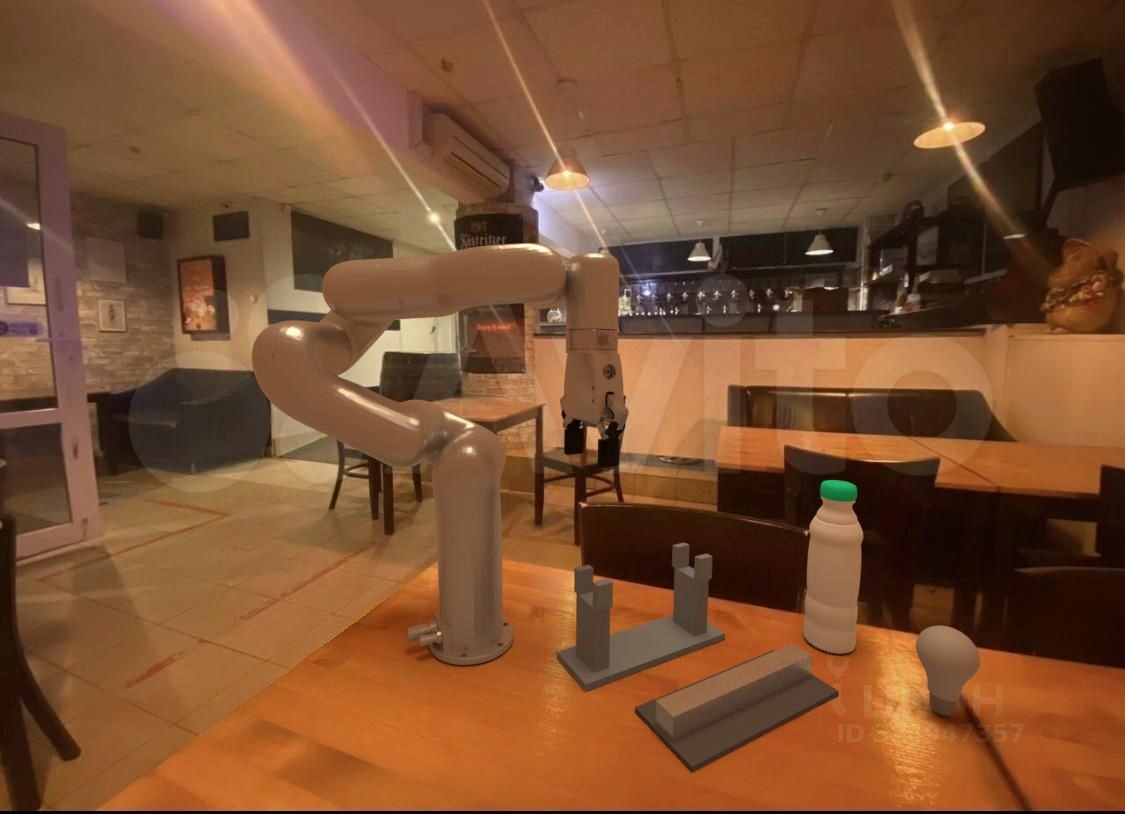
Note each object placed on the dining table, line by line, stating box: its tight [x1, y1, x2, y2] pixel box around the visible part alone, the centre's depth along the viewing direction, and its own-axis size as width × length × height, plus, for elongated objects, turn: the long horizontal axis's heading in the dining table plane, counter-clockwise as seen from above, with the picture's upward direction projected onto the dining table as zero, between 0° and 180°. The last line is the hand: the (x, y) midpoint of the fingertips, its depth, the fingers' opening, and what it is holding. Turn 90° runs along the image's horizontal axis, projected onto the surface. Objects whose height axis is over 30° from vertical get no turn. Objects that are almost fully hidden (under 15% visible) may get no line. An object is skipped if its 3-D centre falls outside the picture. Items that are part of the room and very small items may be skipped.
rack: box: [556, 542, 726, 692], centre depth 73 cm, size 25×8×14 cm, turn 118°
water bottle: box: [802, 479, 864, 655], centre depth 74 cm, size 7×7×25 cm
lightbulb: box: [915, 625, 981, 717], centre depth 60 cm, size 6×6×11 cm
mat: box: [634, 649, 840, 773], centre depth 62 cm, size 25×10×1 cm, turn 118°
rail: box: [656, 643, 813, 741], centre depth 62 cm, size 24×3×3 cm, turn 118°
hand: (590, 459), depth 73 cm, fingers open, 9 cm apart
